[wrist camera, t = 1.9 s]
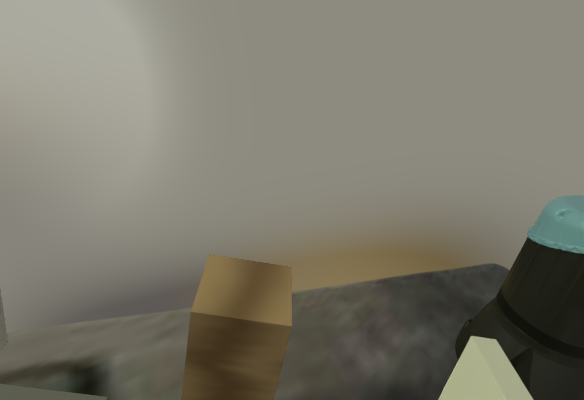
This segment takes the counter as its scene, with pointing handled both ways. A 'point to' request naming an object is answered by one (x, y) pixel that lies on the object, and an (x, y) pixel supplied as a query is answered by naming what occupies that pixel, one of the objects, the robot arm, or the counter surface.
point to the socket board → (41, 394)
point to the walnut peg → (238, 330)
